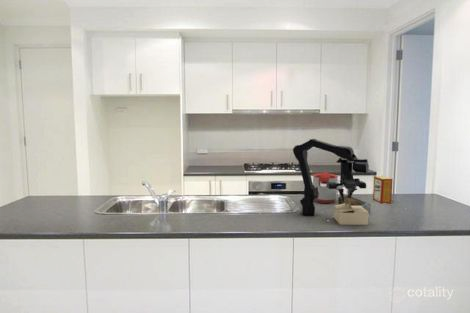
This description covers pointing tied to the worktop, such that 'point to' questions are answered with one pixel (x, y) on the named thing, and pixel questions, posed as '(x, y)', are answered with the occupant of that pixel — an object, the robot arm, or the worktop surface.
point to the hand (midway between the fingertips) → (345, 201)
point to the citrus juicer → (324, 192)
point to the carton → (352, 216)
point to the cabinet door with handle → (344, 205)
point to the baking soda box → (382, 189)
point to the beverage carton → (356, 203)
